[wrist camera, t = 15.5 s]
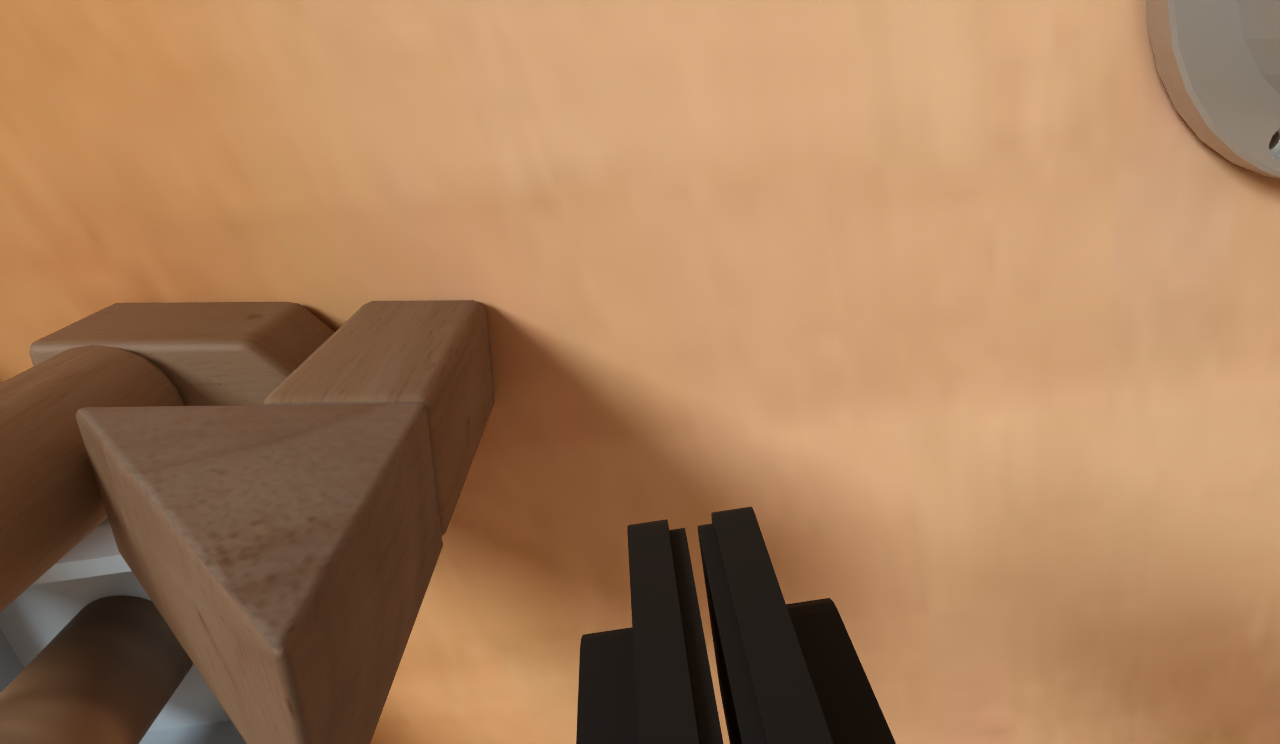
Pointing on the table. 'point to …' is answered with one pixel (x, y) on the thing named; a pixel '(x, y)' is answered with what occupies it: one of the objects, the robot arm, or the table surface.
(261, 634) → the wooden blocks
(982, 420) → the table surface
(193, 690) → the tray
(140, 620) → the dowel
